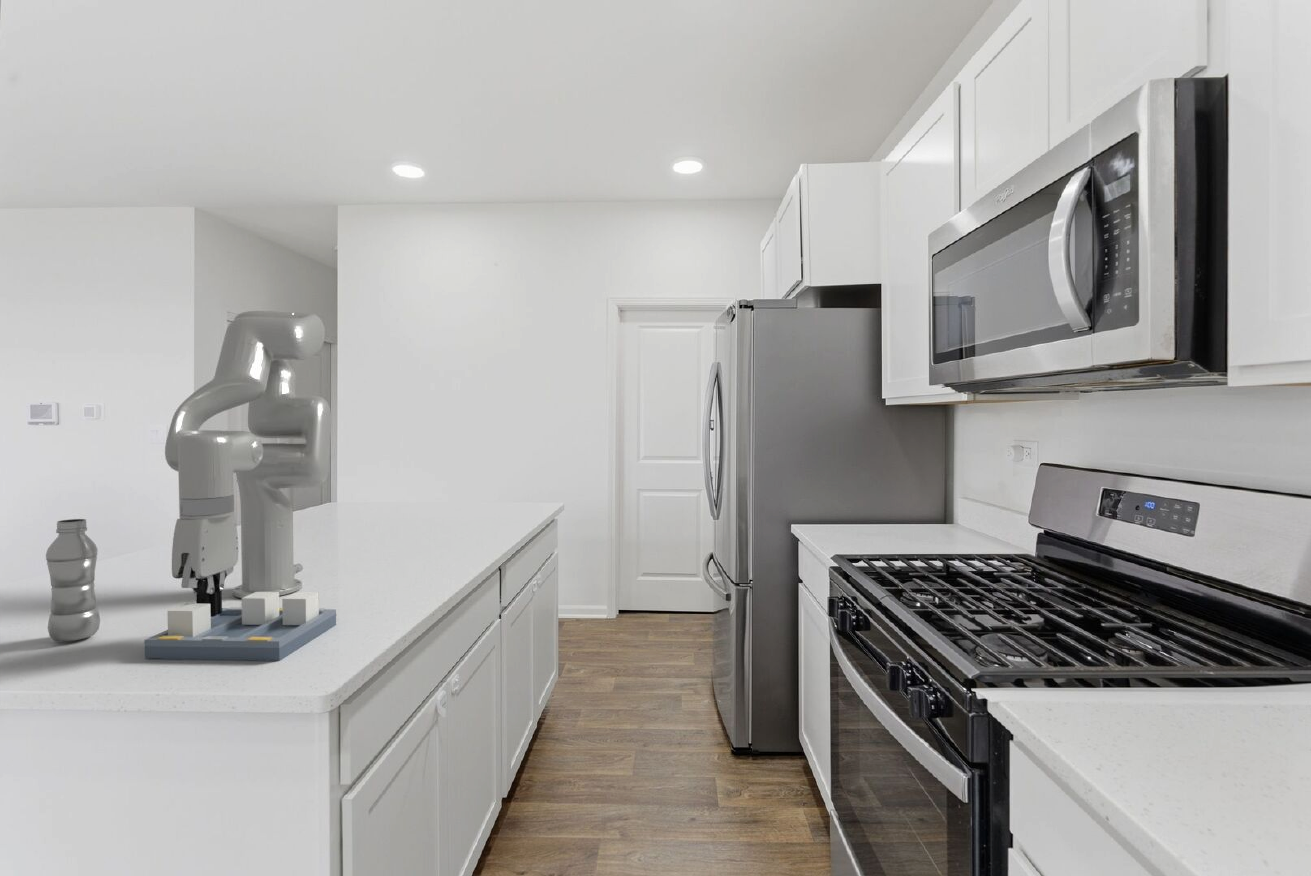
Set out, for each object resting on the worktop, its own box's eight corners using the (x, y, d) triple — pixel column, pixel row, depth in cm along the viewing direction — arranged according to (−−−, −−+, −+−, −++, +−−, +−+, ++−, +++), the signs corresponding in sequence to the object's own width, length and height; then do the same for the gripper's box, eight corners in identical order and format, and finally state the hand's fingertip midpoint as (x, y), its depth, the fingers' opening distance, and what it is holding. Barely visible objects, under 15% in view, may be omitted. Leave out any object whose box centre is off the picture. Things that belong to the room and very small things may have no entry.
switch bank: (221, 623, 116) (220, 605, 116) (336, 624, 116) (335, 607, 116) (144, 658, 99) (144, 638, 99) (279, 660, 99) (279, 640, 99)
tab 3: (296, 617, 113) (295, 592, 112) (318, 617, 113) (318, 592, 112) (282, 624, 109) (282, 598, 108) (306, 625, 109) (305, 598, 108)
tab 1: (186, 630, 106) (186, 603, 105) (210, 630, 106) (210, 603, 105) (168, 638, 102) (167, 610, 101) (192, 639, 102) (192, 611, 101)
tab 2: (256, 617, 113) (256, 591, 113) (279, 617, 113) (279, 592, 113) (241, 624, 109) (241, 598, 109) (265, 624, 109) (264, 598, 109)
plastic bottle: (69, 647, 103) (66, 524, 103) (36, 644, 105) (33, 522, 104) (110, 634, 110) (108, 518, 109) (79, 631, 111) (76, 516, 110)
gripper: (216, 500, 115) (218, 601, 116) (149, 514, 100) (152, 630, 101) (257, 501, 115) (259, 602, 116) (196, 514, 100) (199, 630, 101)
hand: (209, 614), depth 108 cm, fingers closed
